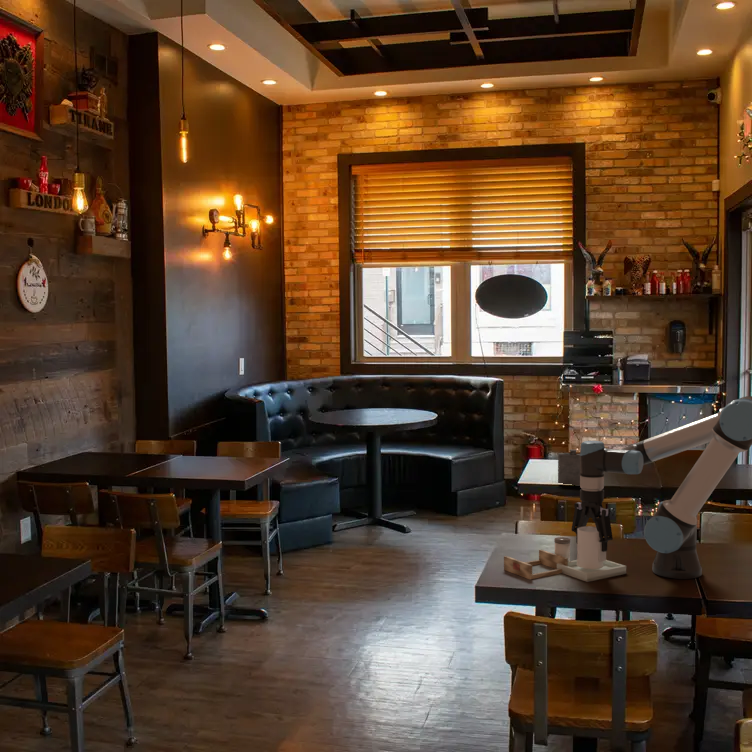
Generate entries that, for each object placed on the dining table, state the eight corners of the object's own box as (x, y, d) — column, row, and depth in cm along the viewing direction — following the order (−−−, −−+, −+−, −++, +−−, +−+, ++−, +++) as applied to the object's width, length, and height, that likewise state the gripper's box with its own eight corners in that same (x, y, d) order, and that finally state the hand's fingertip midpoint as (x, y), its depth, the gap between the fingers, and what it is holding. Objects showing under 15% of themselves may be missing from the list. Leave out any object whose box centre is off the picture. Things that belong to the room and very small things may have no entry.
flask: (588, 487, 437) (588, 450, 435) (557, 486, 440) (558, 449, 438) (587, 485, 440) (588, 449, 439) (557, 484, 443) (558, 448, 442)
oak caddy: (567, 571, 293) (567, 558, 293) (529, 579, 285) (529, 565, 285) (541, 562, 304) (541, 549, 304) (503, 569, 296) (503, 556, 296)
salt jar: (573, 566, 299) (573, 539, 299) (561, 568, 297) (561, 541, 296) (562, 562, 304) (562, 536, 303) (551, 564, 301) (551, 538, 301)
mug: (579, 558, 300) (579, 523, 299) (605, 560, 297) (605, 524, 296) (574, 568, 289) (575, 531, 288) (602, 570, 286) (602, 533, 285)
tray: (626, 573, 291) (626, 566, 290) (587, 581, 282) (587, 574, 282) (595, 563, 303) (595, 556, 302) (556, 571, 294) (556, 563, 294)
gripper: (625, 493, 283) (624, 563, 284) (577, 482, 302) (576, 548, 303) (607, 495, 279) (607, 567, 281) (560, 484, 298) (560, 551, 299)
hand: (591, 557), depth 292 cm, fingers closed on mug, 9 cm apart
